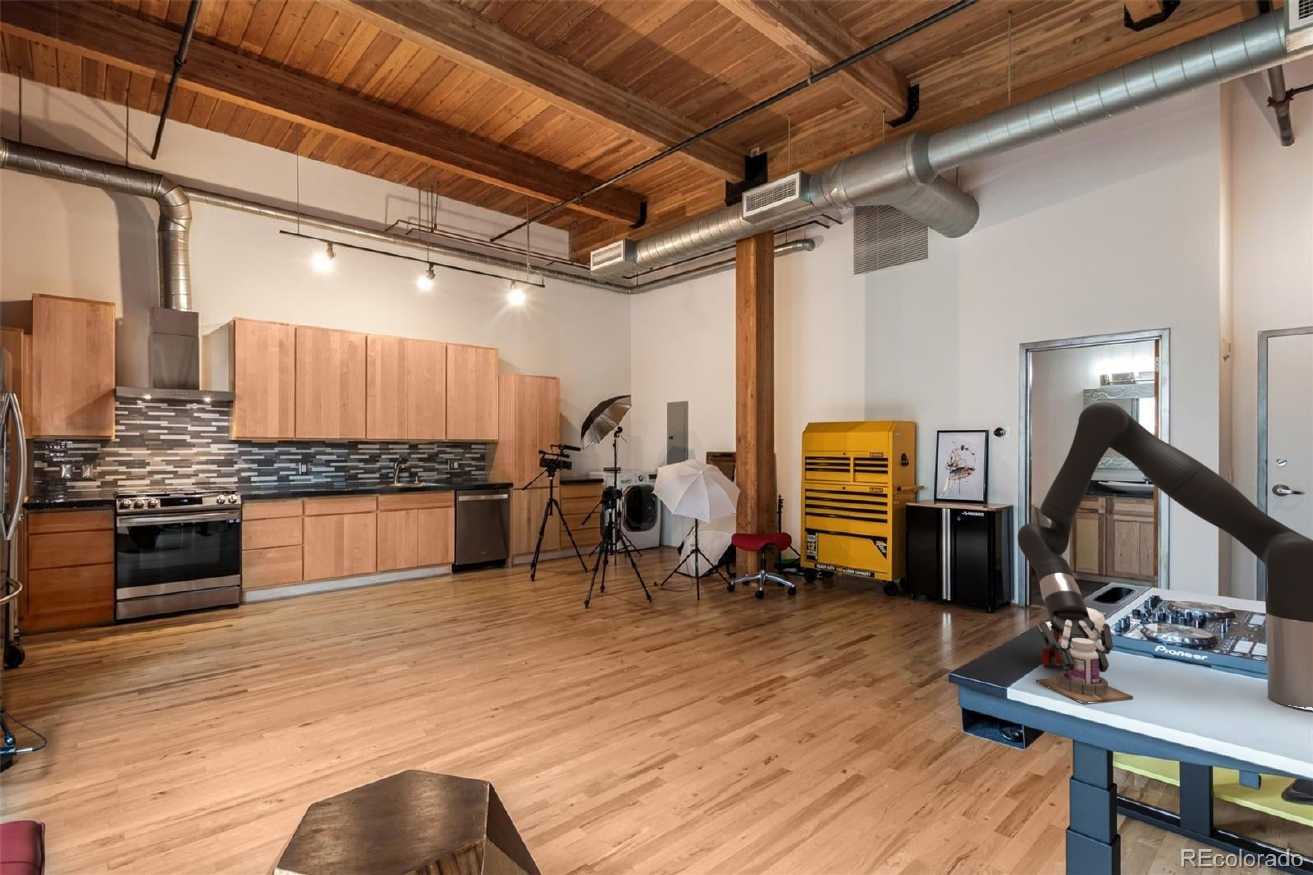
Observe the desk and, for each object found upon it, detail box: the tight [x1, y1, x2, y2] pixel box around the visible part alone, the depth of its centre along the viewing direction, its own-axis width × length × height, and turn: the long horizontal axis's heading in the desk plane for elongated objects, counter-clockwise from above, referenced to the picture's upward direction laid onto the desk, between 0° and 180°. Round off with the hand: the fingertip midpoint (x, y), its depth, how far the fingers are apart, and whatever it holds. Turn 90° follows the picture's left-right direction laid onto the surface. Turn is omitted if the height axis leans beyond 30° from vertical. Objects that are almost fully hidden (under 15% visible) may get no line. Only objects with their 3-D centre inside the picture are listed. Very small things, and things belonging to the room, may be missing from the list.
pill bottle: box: [1068, 638, 1100, 684], centre depth 131 cm, size 5×5×10 cm
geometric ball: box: [1086, 606, 1107, 638], centre depth 169 cm, size 8×8×8 cm
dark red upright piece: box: [1041, 629, 1072, 668], centre depth 147 cm, size 7×12×10 cm, turn 140°
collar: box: [1035, 670, 1134, 703], centre depth 132 cm, size 12×12×3 cm
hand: (1087, 669), depth 129 cm, fingers closed on pill bottle, 5 cm apart
